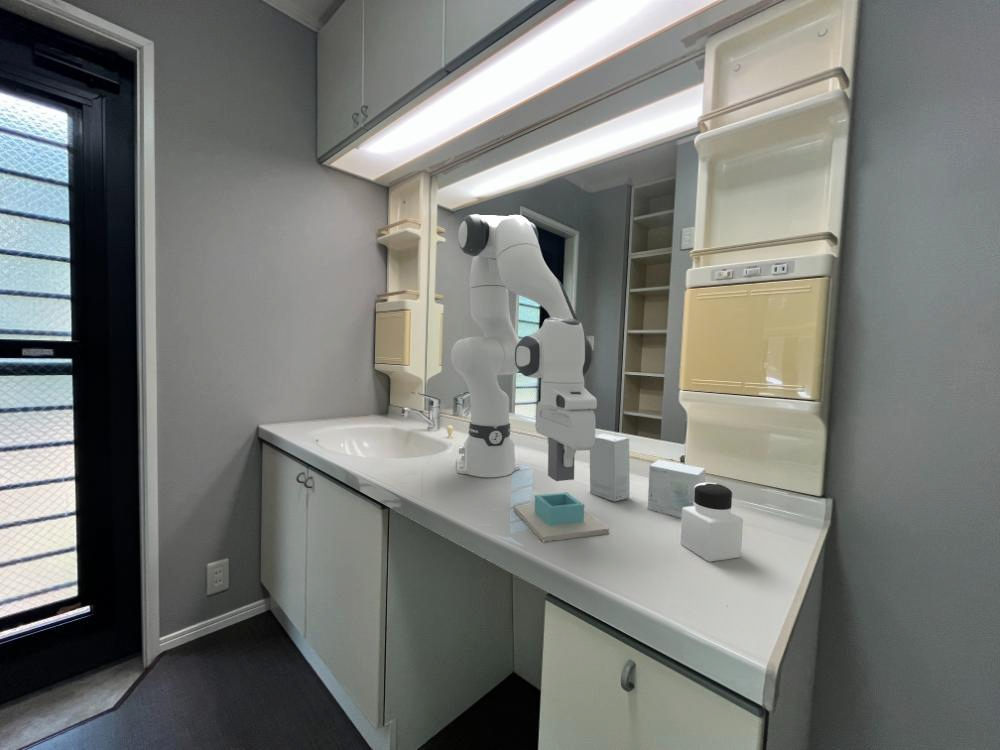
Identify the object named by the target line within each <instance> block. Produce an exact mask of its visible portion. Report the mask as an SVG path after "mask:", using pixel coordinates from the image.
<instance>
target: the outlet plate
mask: <svg viewBox="0 0 1000 750" xmlns="http://www.w3.org/2000/svg"><path fill="white" fill-rule="evenodd" d="M513 511H514V512H515V513H516V515H517V516H519V518H520V519H521V518H522V519H523V520H522V519H521V520H522V521H523V522H524V523H525V524H526V525H527V527H528V528H530V530H531V529H532V530H533V531H534V532H535V533H536V534H535V533H534V532H533V531H532V530H531V531H532V532H533V533H534V534H535V535H536V536H537V537H538V539H540V541H541V540H542V541H548V542H553V541H552V540H555V541H561V540H571V539H577V538H585V537H592V536H600V535H607V534H609V533H610V532H609V531H610V528H609V527H608V526H606V525H605V524H603V523H602V522H601V521H600V520H599V519H597V518H595V517H594V516H593V515H591V514H590V513H589V512H588V511H586V510H585V504H584V503H583V502H581V501H580V500H578V499H577V498H575V497H574V496H573V495H572V494H570V493H568V492H555V493H546V494H535V495H534V503H527V504H519V505H517V504H516V505H513ZM542 541H541V542H542Z"/></svg>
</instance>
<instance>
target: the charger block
mask: <svg viewBox="0 0 1000 750" xmlns="http://www.w3.org/2000/svg"><path fill="white" fill-rule="evenodd" d="M547 444H548V445H547V447H548V448H547V449H548V452H547V476H548V477H550V478H551V479H552V480H554V481H555V482H562V481H564V482H565V481H573V480H575V455H576V454H575V455H574V457H573V466H572V467H565V466H563V465H562V457H564V453H565V450H564V445H563V444H561V443H559V442H558V441H556V440H553V439H551V438H548V437H547Z"/></svg>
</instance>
